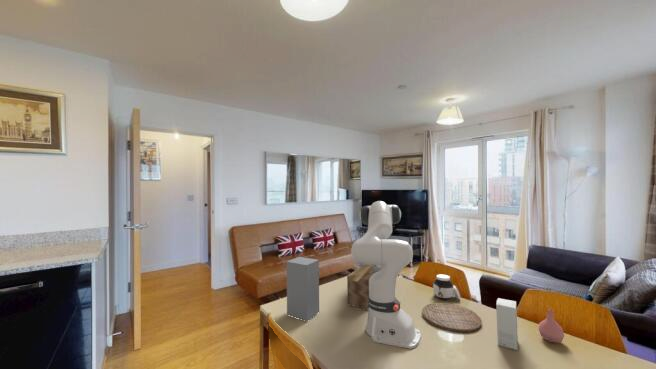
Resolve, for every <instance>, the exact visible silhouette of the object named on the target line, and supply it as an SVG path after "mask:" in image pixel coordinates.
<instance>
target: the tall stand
mask: <svg viewBox="0 0 656 369" xmlns="http://www.w3.org/2000/svg"><path fill="white" fill-rule="evenodd" d="M319 270H320V260H319V259H316V258H308V257H302V256H297V257H296V258H295V257H294V258H293V259H289V260H287V261H286V316H287V315H290V316H293V317H296V318H299V319H302V320H305V321H308V320H310V319H311V318H312V317H313V316H314V315H316V314H317V313H318V312H319V313H320V271H319ZM316 316H317V315H316ZM312 319H313V318H312ZM312 319H311V320H312ZM302 320H301V321H302ZM311 320H310V321H311ZM305 321H304V322H305Z"/></svg>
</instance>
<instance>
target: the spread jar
mask: <svg viewBox="0 0 656 369" xmlns="http://www.w3.org/2000/svg"><path fill="white" fill-rule="evenodd" d="M432 288H433V290H432V291H433V294H434V295H435V297H436V298H437V299H439V300H443V301H449V300H451V299H452V298H453V297H455V298H456V300H458V299H460V298H461V294H460V291H459V290H458V288H457V286H456V285H454V284H453V282H452V281H451V276H450V275H447V274H441V273H439V274H437V275H436V278H435V279H434V281H433V285H432Z"/></svg>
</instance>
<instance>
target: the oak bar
mask: <svg viewBox="0 0 656 369" xmlns="http://www.w3.org/2000/svg"><path fill="white" fill-rule="evenodd" d="M372 270H373V265H365V264H364V265H363V266H361V267H360V268H356V269H355V270H354V271H352V272H350V273H349V274H350V281H355V282H357V281H359V280H360V279H361V278H363V277H364V276H365V275H367V274H368V273H369V272H371V271H372Z"/></svg>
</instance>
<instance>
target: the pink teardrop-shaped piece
mask: <svg viewBox="0 0 656 369" xmlns="http://www.w3.org/2000/svg"><path fill="white" fill-rule="evenodd" d="M538 331H539V334H540V335H539V336H541V337H542V338H543V339H545V340H547V341H548V342H549V343H561V342H563V340H564V337H565V333H564V329H563V327H562V326H561V325H559V323H558V322H557V321H556V319H555V317H554V310H553V309H550V308H548V309H547V316H546V318H545V319H543V320H542V321H540V322H539V324H538Z"/></svg>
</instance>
